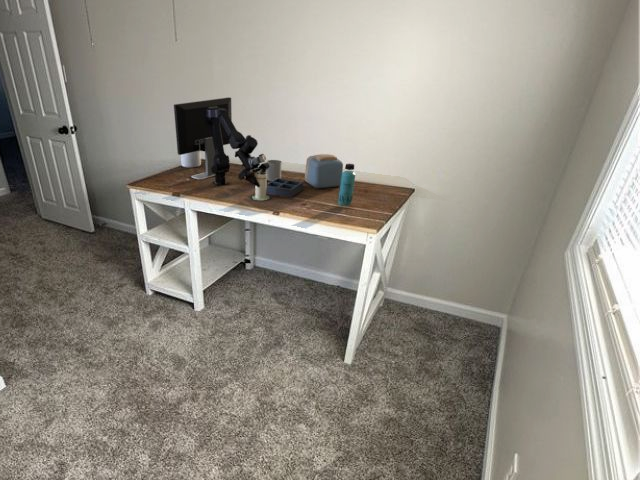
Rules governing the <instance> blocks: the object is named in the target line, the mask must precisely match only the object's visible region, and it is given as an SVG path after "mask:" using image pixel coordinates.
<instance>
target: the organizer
mask: <svg viewBox="0 0 640 480" xmlns="http://www.w3.org/2000/svg"><path fill="white" fill-rule="evenodd" d="M303 189H304V182H303V181H300V180H294V179H293V180H292V179H286V178H282V177H281V178H276V179H274V180H272V181H269V182H267V187H266V195H274V196H280V197H285V198H290V199H291V198H292V197H294V196H295V195H297V194H298V193H299V192H301V191H303Z"/></svg>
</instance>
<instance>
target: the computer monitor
mask: <svg viewBox="0 0 640 480" xmlns="http://www.w3.org/2000/svg"><path fill="white" fill-rule="evenodd" d="M207 107H219V108H220V109H226V110H227V114H228V116H229V117H230V119H231V121H232V122H233V120H232V116H233V115H232V97H230V96H229V97H221V98H213V99H212V98H211V99H205V100H198V101H190V102H183V103H182V102H181V103H175V104H173V113H174V124H175V125H174V126H175V135H176V136H175V138H176V149H177V155H179V156H181V155H183V154H187V153H191V152H196V151H199V152H200V153H201V152H204V158H205V159H204V160H205V171H204V172H201V173H198V174H194V175H191V178H193V179H195V180H204V179H207V178H212V177H215V174H214V173H212V172H211V168H212V166H213V165H214V157H215V149H214V144H213V138H212V133H211V127H210V125H209V124H208V122H207V121H206V118H205V115H204V111H205V109H206V108H207ZM220 130H221V136H222V142H223V146H226V145H227V146H228V145H230V143H229V141H228V140H229V136H228V134H227V132H226V131H225V129H224V127H223V125H222V123H221V122H220Z"/></svg>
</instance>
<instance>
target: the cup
mask: <svg viewBox="0 0 640 480" xmlns="http://www.w3.org/2000/svg"><path fill="white" fill-rule="evenodd" d="M266 162H267V163H268V164H269V165H270V167H269V168H268V169H267V170H266V172H265V173H267V181H269V182H271V181H272V180H274V179H276V178H281V179H282V165H283V162H282V161H281V160H279V159H269V160H267V161H266Z"/></svg>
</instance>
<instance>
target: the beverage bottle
mask: <svg viewBox="0 0 640 480" xmlns="http://www.w3.org/2000/svg"><path fill="white" fill-rule="evenodd" d="M344 169H345V170H343V173H342V178H341V184H340V186H339V191H338V198H337V203H338V205H341V206H346V207H347V206H350V205H351V204H352V201H353V196H354V190H355V189H354V188H355V181H356V176H357V175H356V173H355V172H354V170H355V164H354V163H345V166H344Z"/></svg>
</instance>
